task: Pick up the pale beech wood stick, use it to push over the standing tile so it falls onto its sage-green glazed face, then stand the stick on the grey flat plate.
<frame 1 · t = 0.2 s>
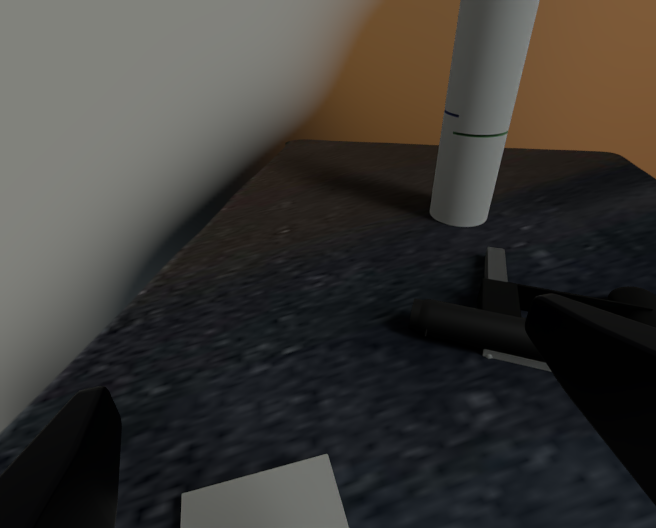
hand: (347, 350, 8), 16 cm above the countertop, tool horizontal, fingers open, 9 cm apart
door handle: (532, 316, 34), on the countertop
cylindrical container: (457, 215, 50), on the countertop
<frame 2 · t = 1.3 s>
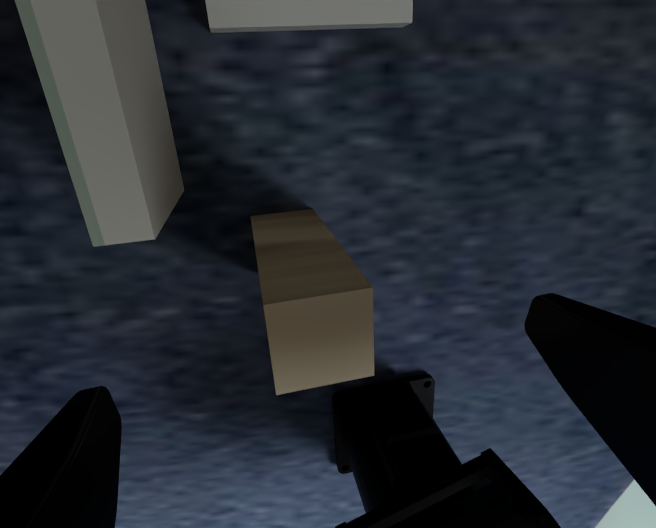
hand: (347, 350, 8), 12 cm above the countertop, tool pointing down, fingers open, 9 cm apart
stick: (285, 241, 19), on the countertop
tile: (143, 93, 15), on the countertop
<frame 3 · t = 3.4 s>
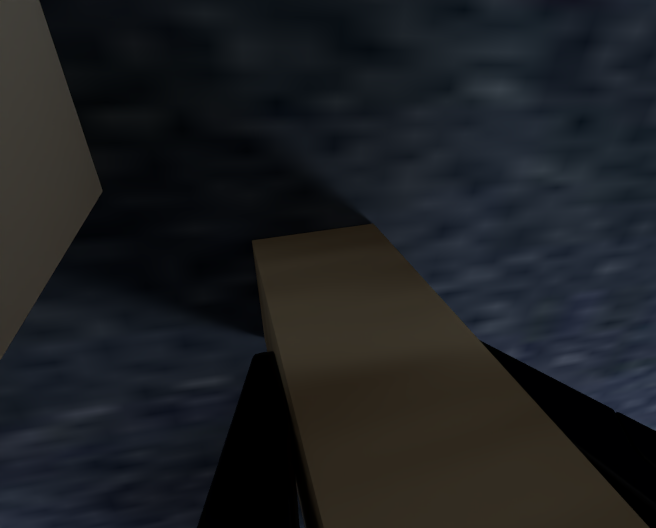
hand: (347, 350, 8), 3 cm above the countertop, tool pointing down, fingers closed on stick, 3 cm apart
stick: (316, 283, 10), on the countertop, touching gripper
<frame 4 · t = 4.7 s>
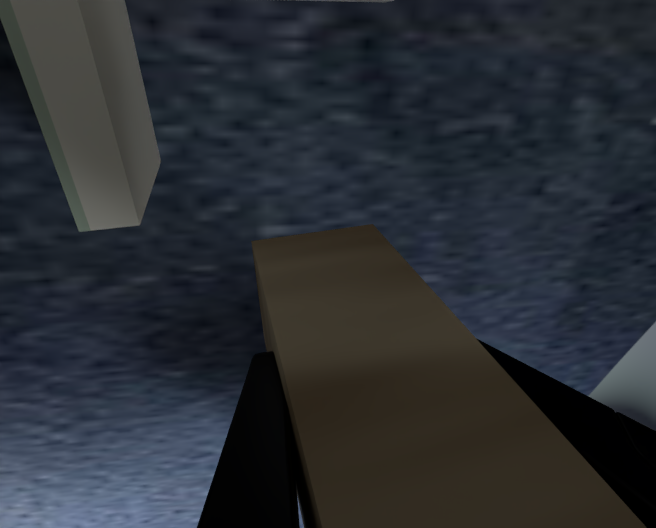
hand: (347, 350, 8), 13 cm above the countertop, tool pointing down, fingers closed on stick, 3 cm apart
stick: (316, 284, 10), point 10 cm above the countertop, touching gripper
tile: (115, 59, 15), on the countertop
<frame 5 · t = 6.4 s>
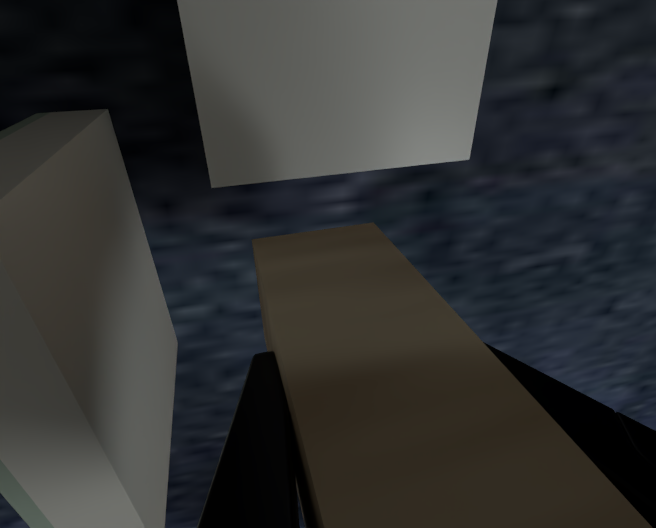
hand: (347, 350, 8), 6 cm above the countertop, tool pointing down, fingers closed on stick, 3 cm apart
stick: (316, 282, 10), point 3 cm above the countertop, touching gripper
tile: (121, 249, 12), on the countertop
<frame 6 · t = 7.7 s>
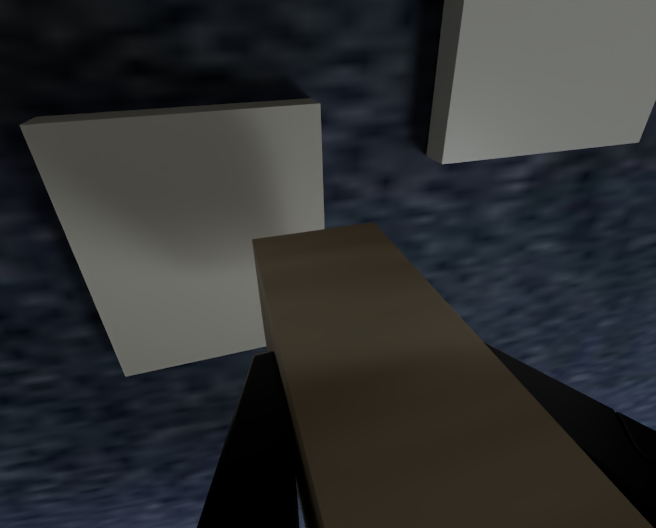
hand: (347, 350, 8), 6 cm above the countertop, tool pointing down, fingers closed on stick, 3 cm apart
stick: (316, 282, 10), point 4 cm above the countertop, touching gripper
tile: (318, 227, 13), on the countertop, tilted 90°
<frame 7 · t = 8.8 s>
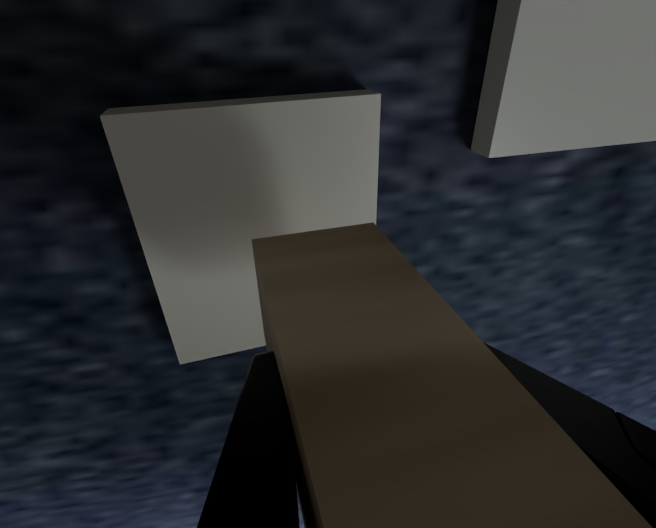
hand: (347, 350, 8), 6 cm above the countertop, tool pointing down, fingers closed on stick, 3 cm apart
stick: (316, 282, 10), point 3 cm above the countertop, touching gripper
tile: (366, 217, 13), on the countertop, tilted 90°
when the fingers open (4 cm above the countertop, at t = 12.4 s): stick stays where it is, resting on grey flat plate.
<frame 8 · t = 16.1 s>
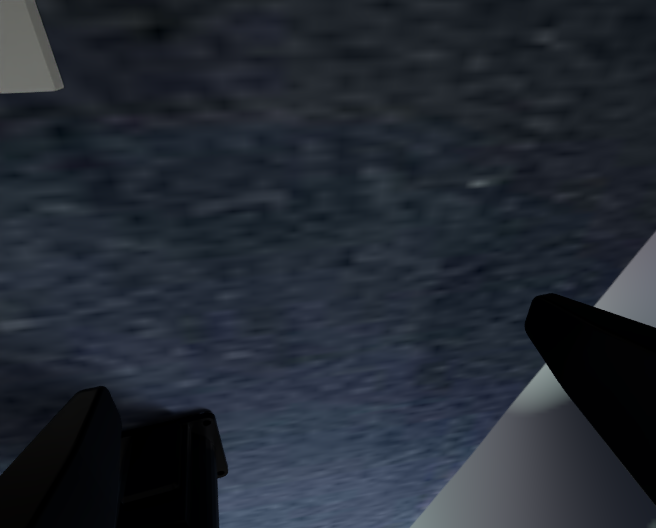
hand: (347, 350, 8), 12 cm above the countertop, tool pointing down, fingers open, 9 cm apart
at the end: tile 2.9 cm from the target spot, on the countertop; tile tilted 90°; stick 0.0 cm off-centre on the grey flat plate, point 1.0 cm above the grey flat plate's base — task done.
